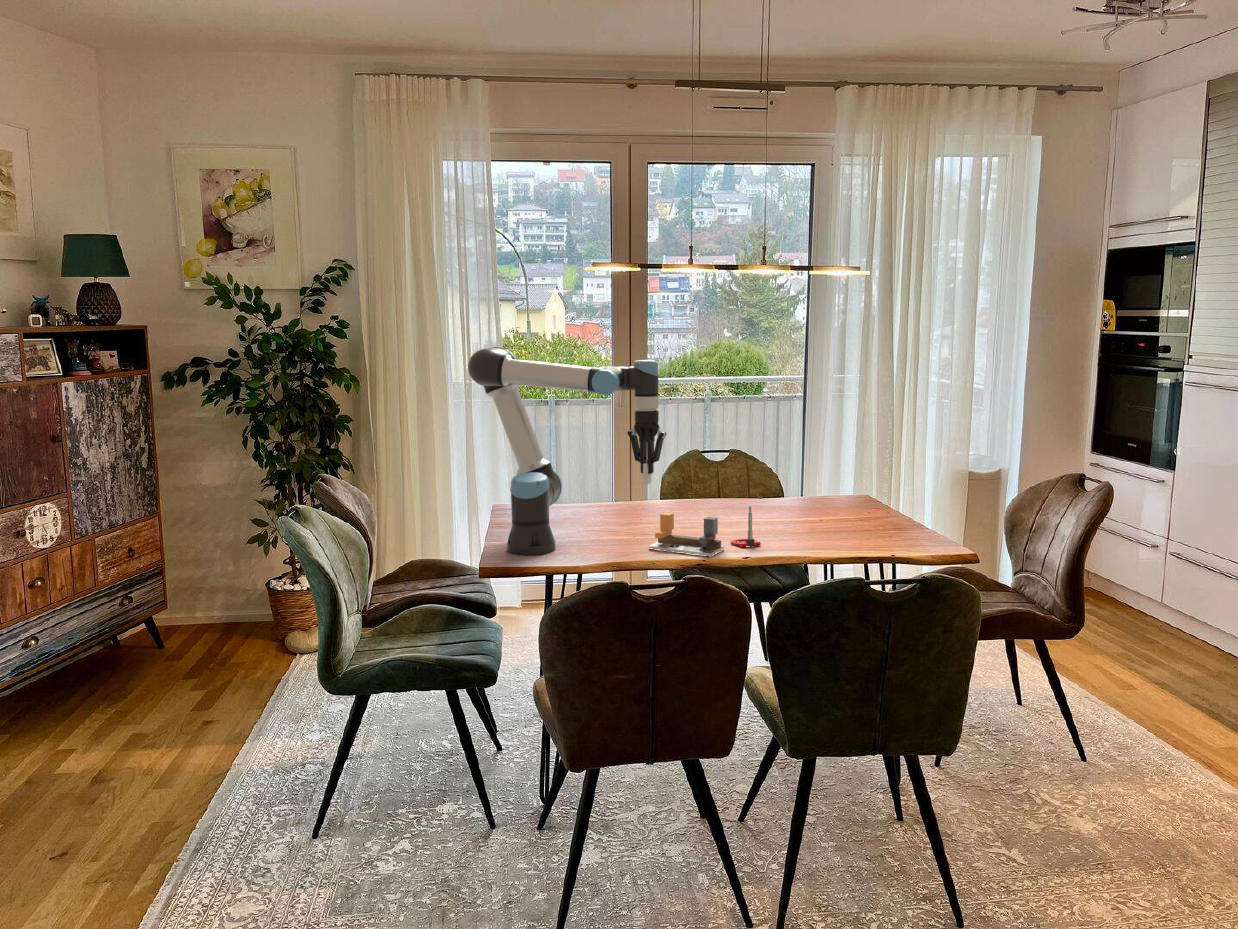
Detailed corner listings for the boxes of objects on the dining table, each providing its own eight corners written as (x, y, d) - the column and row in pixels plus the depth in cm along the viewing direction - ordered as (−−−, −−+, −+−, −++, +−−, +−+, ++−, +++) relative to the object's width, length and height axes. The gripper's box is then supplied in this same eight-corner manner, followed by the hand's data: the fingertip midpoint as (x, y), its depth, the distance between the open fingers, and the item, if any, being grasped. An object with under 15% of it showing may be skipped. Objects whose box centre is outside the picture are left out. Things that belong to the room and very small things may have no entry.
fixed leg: (707, 549, 282) (707, 522, 281) (697, 548, 284) (697, 521, 283) (717, 544, 289) (717, 517, 288) (707, 542, 291) (708, 516, 289)
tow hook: (726, 543, 299) (739, 548, 290) (726, 503, 297) (739, 507, 289) (749, 541, 302) (763, 546, 293) (749, 501, 300) (763, 505, 291)
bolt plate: (710, 557, 280) (710, 547, 280) (648, 549, 290) (648, 539, 290) (723, 550, 289) (723, 539, 288) (662, 542, 299) (662, 533, 298)
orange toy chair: (663, 544, 290) (663, 517, 288) (653, 543, 291) (653, 516, 290) (673, 538, 296) (673, 513, 295) (664, 537, 298) (664, 512, 296)
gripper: (670, 409, 293) (671, 483, 296) (633, 407, 299) (634, 480, 303) (659, 411, 286) (660, 487, 290) (622, 409, 292) (623, 483, 296)
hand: (647, 483), depth 296 cm, fingers closed
